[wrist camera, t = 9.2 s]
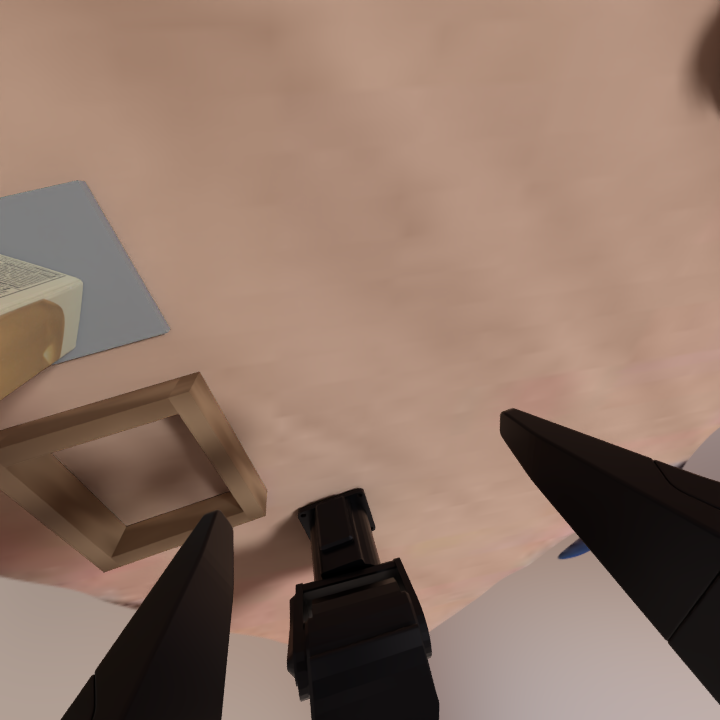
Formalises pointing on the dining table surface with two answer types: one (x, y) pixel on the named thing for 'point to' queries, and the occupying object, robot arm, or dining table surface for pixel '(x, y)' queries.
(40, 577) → the dining table surface
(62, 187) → the grey mat
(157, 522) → the walnut stand
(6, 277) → the skincare box
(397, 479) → the dining table surface
